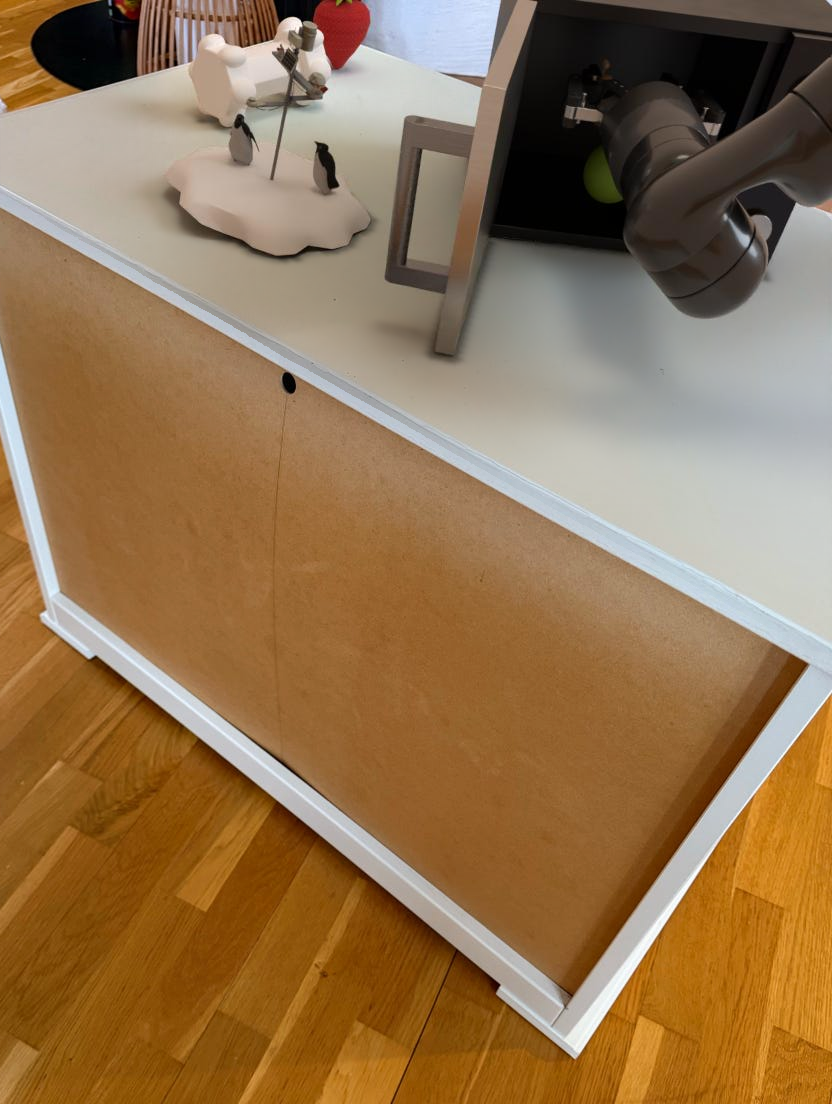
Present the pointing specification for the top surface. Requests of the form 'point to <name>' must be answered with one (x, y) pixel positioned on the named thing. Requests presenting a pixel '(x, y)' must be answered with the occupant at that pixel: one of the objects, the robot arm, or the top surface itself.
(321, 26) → the strawberry
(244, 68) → the bone shaped toy
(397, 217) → the microwave door
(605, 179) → the snail figurine
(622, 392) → the top surface
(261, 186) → the figurine
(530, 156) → the microwave
